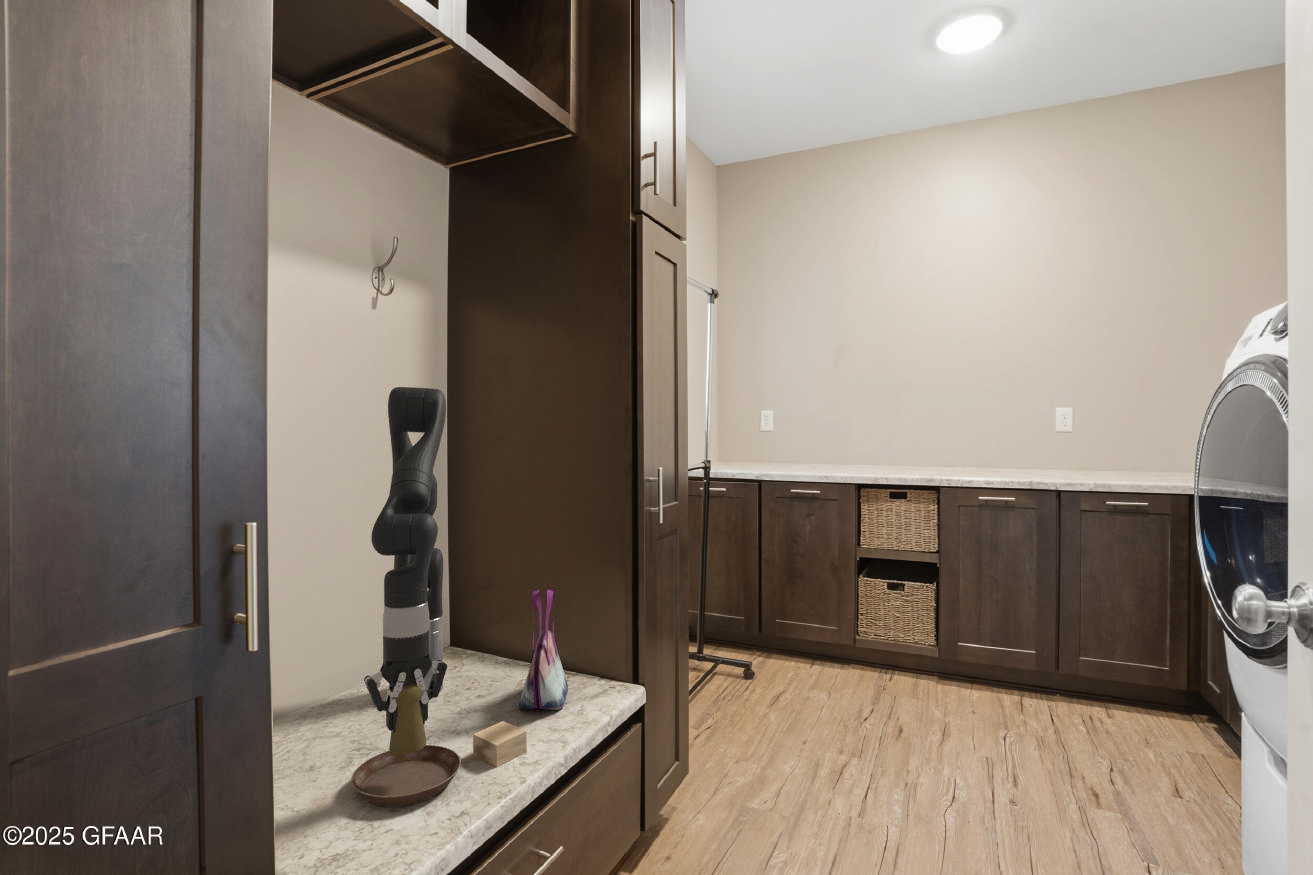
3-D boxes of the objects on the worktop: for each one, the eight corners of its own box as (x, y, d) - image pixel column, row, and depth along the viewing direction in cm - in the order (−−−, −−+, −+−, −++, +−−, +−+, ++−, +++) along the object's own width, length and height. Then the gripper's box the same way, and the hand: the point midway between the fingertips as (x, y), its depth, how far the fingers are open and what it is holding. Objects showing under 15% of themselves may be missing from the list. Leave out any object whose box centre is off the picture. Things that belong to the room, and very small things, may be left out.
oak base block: (473, 755, 122) (472, 734, 122) (502, 741, 128) (502, 721, 128) (496, 767, 118) (496, 745, 118) (526, 751, 124) (526, 730, 123)
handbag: (530, 681, 158) (529, 579, 158) (571, 681, 158) (570, 579, 158) (512, 721, 136) (511, 603, 136) (560, 720, 137) (559, 602, 136)
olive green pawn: (413, 756, 109) (413, 691, 109) (381, 752, 110) (380, 688, 110) (433, 739, 115) (432, 677, 115) (402, 736, 116) (401, 674, 116)
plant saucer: (421, 750, 125) (421, 734, 125) (481, 778, 115) (481, 761, 115) (330, 792, 111) (330, 774, 111) (390, 828, 100) (390, 809, 100)
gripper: (440, 616, 120) (440, 709, 120) (357, 631, 111) (358, 731, 111) (454, 626, 114) (455, 723, 114) (368, 642, 105) (369, 748, 105)
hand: (407, 726), depth 113 cm, fingers closed on olive green pawn, 4 cm apart
